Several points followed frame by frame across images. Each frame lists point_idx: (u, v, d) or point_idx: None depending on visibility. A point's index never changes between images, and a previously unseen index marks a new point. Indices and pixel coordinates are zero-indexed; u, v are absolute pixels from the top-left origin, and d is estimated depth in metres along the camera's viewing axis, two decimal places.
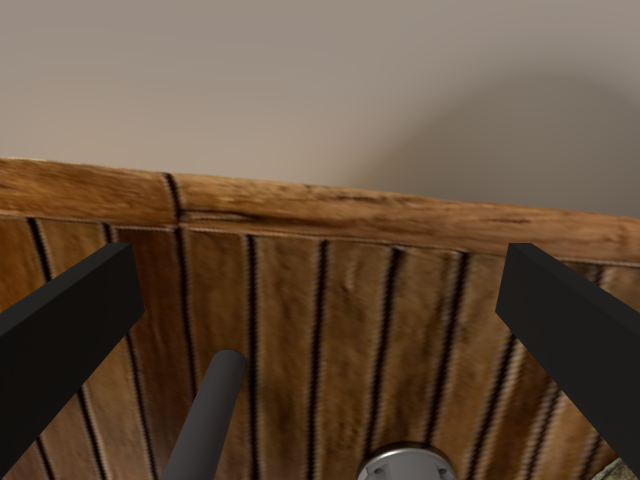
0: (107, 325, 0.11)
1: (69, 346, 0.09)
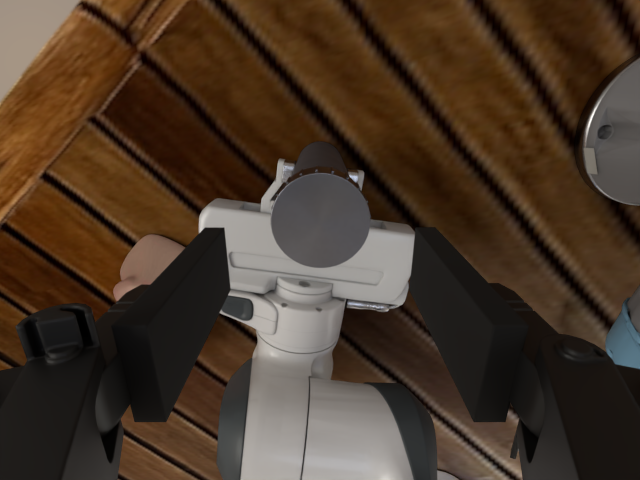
0: (213, 297, 0.12)
1: (197, 310, 0.11)
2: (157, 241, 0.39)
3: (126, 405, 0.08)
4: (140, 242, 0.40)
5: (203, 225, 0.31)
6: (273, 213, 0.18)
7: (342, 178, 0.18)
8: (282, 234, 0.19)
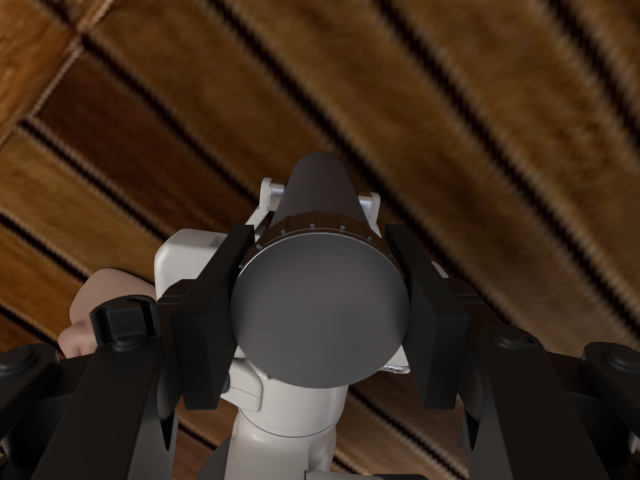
0: None
1: None
2: (113, 277, 0.31)
3: (180, 393, 0.08)
4: (92, 278, 0.31)
5: (160, 269, 0.23)
6: (233, 302, 0.10)
7: (361, 242, 0.09)
8: (251, 336, 0.10)
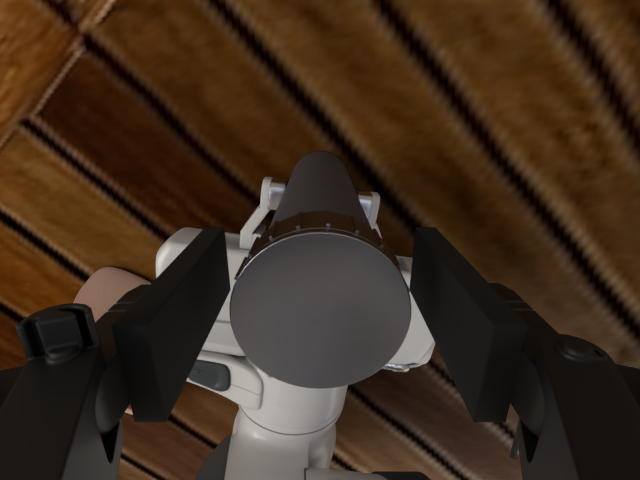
0: (213, 297, 0.12)
1: (197, 311, 0.11)
2: (115, 276, 0.31)
3: (126, 405, 0.08)
4: (93, 277, 0.32)
5: (161, 267, 0.23)
6: (269, 371, 0.11)
7: (261, 252, 0.09)
8: (309, 375, 0.11)
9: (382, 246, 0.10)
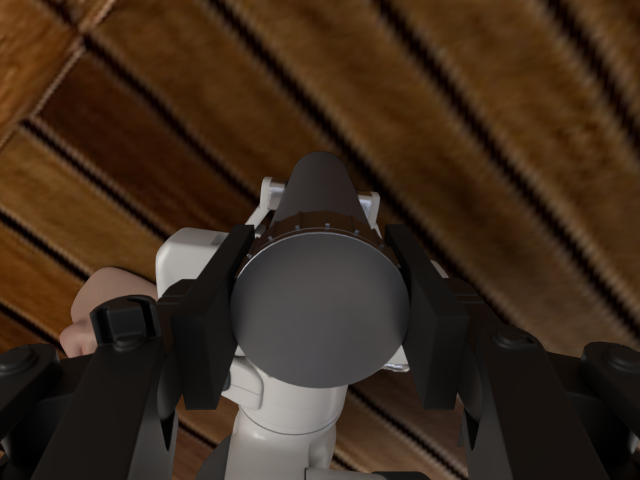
0: None
1: None
2: (115, 276, 0.31)
3: (180, 393, 0.08)
4: (93, 277, 0.32)
5: (161, 267, 0.23)
6: (268, 371, 0.11)
7: (260, 252, 0.09)
8: (308, 375, 0.11)
9: (381, 246, 0.10)
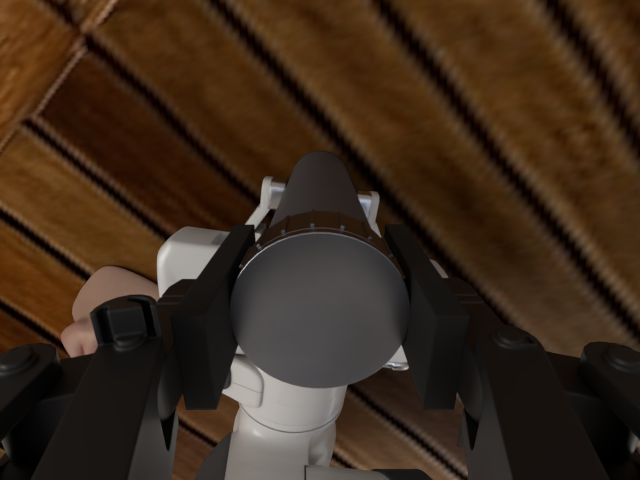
0: None
1: None
2: (116, 275, 0.31)
3: (180, 393, 0.08)
4: (95, 276, 0.32)
5: (162, 266, 0.23)
6: (352, 380, 0.11)
7: (233, 331, 0.10)
8: (376, 353, 0.11)
9: (283, 231, 0.10)
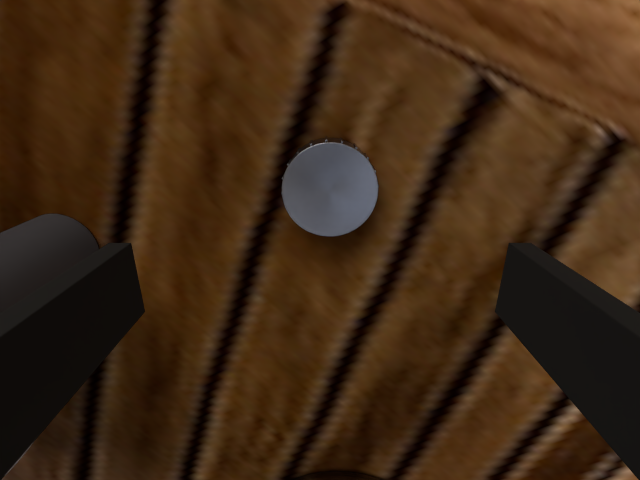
0: (107, 325, 0.11)
1: (69, 346, 0.09)
2: None
3: None
4: None
5: None
6: (347, 231, 0.20)
7: (283, 200, 0.19)
8: (360, 213, 0.20)
9: (311, 144, 0.19)
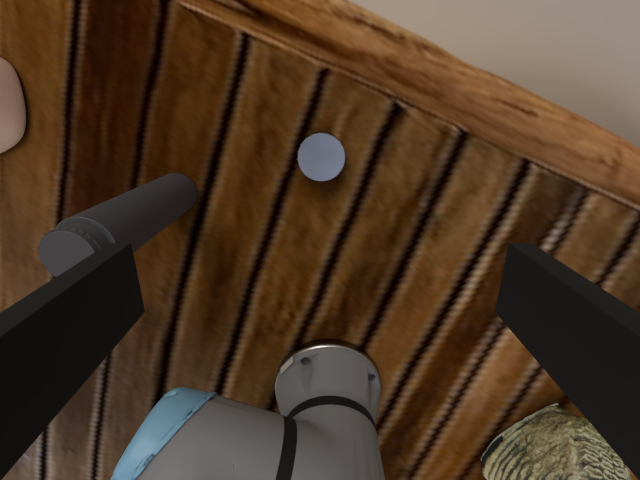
0: (107, 325, 0.11)
1: (69, 346, 0.09)
2: (9, 76, 0.37)
3: None
4: None
5: None
6: (330, 178, 0.40)
7: (298, 162, 0.39)
8: (336, 169, 0.39)
9: (312, 134, 0.38)
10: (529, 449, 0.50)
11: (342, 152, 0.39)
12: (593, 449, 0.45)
